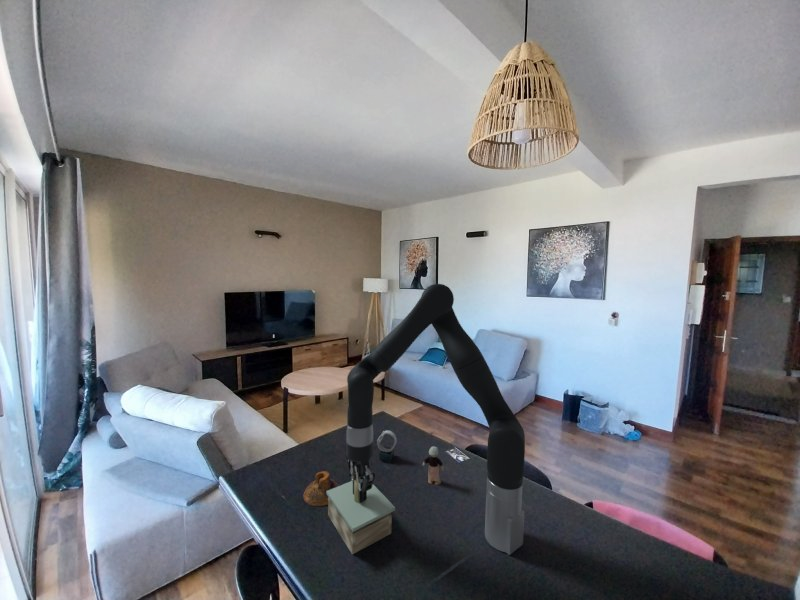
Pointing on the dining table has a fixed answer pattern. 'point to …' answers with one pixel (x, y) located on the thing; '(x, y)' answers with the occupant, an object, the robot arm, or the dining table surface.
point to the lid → (359, 504)
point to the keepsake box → (360, 530)
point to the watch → (386, 452)
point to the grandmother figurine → (433, 466)
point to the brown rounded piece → (319, 489)
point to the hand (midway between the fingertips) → (359, 497)
